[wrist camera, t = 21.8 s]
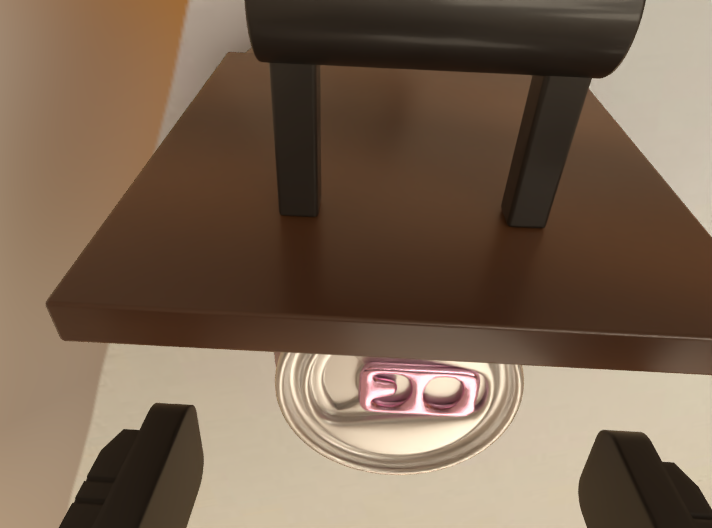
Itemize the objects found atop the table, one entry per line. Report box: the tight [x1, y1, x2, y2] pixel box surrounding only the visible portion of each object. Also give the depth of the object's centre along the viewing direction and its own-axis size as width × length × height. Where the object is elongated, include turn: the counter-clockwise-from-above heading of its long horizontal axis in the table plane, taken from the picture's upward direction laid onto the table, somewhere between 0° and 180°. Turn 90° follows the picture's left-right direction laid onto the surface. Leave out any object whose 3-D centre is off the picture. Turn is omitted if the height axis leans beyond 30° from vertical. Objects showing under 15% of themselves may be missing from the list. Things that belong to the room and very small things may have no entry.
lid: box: [46, 0, 712, 375], centre depth 11 cm, size 11×11×5 cm
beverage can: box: [274, 352, 524, 475], centre depth 18 cm, size 6×6×15 cm
